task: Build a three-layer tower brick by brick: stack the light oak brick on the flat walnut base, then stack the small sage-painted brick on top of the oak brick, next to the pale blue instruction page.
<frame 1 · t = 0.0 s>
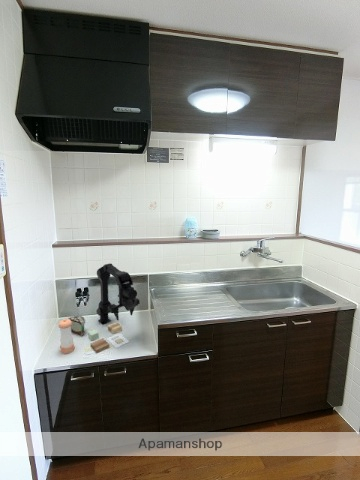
hand: (124, 317, 152), 15 cm above the countertop, fingers open, 9 cm apart
food container: (79, 332, 162), on the countertop
walnut base: (100, 347, 147), on the countertop
instruction page: (117, 340, 154), on the countertop
pepper shaker: (67, 349, 144), on the countertop
sage brick: (93, 338, 156), on the countertop
oak brick: (115, 330, 164), on the countertop
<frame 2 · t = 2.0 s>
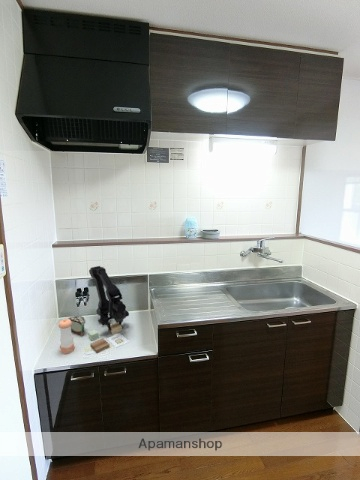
hand: (114, 328, 164), 1 cm above the countertop, fingers closed on oak brick, 7 cm apart
oak brick: (114, 330, 164), on the countertop, touching gripper
everything else where it was.
when the fingers open (4 cm above the countertop, at t = 6.9 s): oak brick drops 1 cm, resting on walnut base.
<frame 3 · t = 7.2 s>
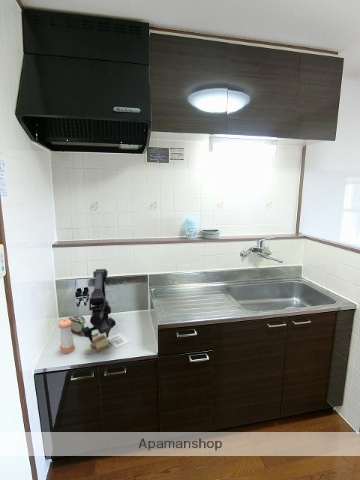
hand: (99, 340, 146), 4 cm above the countertop, fingers open, 9 cm apart
walnut base: (100, 347, 147), on the countertop, touching oak brick
oak brick: (100, 343, 147), point 2 cm above the countertop, touching walnut base
everything else where it was.
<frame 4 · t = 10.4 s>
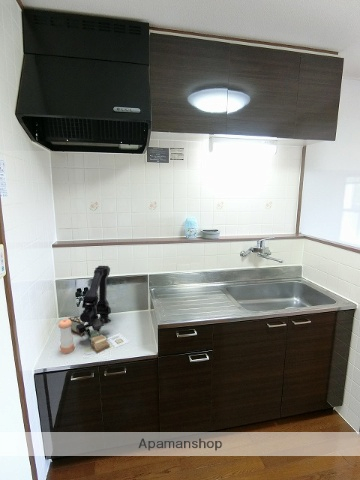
hand: (93, 336, 156), 1 cm above the countertop, fingers closed on sage brick, 4 cm apart
walnut base: (100, 347, 147), on the countertop
sage brick: (93, 337, 156), on the countertop, touching gripper
oak brick: (99, 344, 147), point 2 cm above the countertop
everything else where it was.
when the fingers open (8 cm above the countertop, at t = 13.8 s): sage brick drops 1 cm, point 5 cm above the countertop.
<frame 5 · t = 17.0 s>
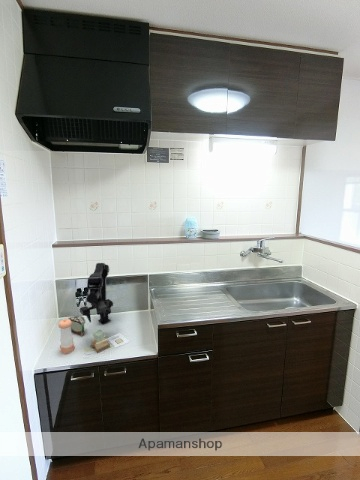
hand: (97, 319, 152), 13 cm above the countertop, fingers open, 9 cm apart
walnut base: (100, 347, 147), on the countertop, touching oak brick
sage brick: (99, 338, 146), point 5 cm above the countertop
oak brick: (100, 344, 146), point 2 cm above the countertop, touching walnut base
everything else where it was.
at the end: sage brick 0.4 cm off-centre on the walnut base, point 6.0 cm above the walnut base's base; oak brick 0.5 cm off-centre on the walnut base, point 2.5 cm above the walnut base's base; the gripper is holding nothing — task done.
